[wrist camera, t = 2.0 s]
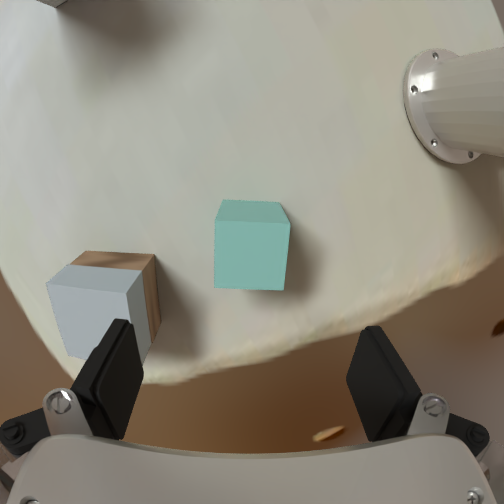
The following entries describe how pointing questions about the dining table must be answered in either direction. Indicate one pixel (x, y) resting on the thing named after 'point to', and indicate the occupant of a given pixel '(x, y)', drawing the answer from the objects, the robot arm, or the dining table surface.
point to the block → (250, 245)
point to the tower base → (131, 263)
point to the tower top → (97, 306)
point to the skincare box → (52, 2)
